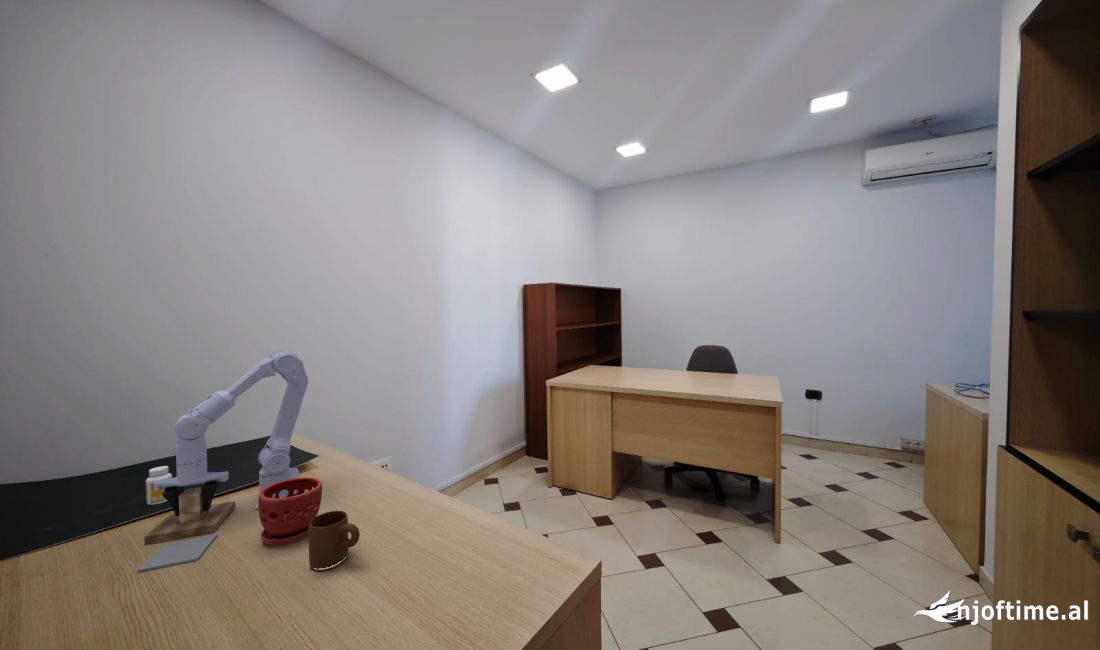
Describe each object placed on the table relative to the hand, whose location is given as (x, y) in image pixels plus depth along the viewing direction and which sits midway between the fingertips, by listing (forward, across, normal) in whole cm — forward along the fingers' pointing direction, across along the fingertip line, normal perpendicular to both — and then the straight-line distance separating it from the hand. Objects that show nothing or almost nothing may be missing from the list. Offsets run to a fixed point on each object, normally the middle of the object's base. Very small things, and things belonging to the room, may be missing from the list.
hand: (193, 512), depth 98 cm
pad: (+3, -3, +14) cm, 15 cm away
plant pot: (+4, -25, +15) cm, 29 cm away
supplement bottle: (+4, +16, -21) cm, 27 cm away
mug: (+4, -37, +32) cm, 49 cm away
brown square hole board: (+3, 0, 0) cm, 3 cm away
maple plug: (+3, 0, 0) cm, 3 cm away
